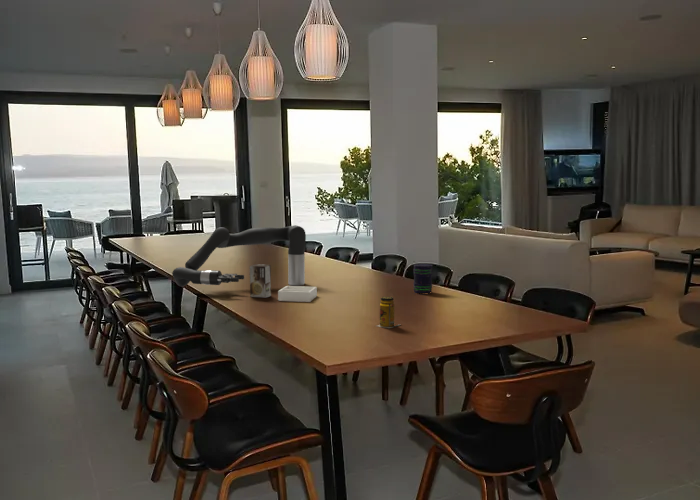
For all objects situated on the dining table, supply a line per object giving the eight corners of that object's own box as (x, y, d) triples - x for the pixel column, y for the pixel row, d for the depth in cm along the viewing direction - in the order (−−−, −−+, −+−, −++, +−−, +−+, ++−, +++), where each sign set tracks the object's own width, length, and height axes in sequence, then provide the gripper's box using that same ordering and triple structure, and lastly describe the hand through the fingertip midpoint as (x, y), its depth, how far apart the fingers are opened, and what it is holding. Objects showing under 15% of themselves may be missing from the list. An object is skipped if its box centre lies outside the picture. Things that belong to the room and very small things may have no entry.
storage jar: (434, 292, 351) (434, 264, 349) (428, 295, 342) (429, 266, 340) (416, 290, 355) (417, 263, 353) (410, 293, 346) (410, 265, 344)
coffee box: (271, 295, 337) (271, 264, 335) (265, 298, 331) (265, 266, 329) (255, 294, 340) (255, 263, 338) (249, 296, 334) (249, 265, 332)
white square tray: (286, 295, 339) (286, 285, 339) (316, 296, 337) (316, 286, 336) (278, 300, 324) (278, 291, 323) (309, 301, 321) (309, 292, 321)
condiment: (375, 326, 270) (375, 297, 269) (387, 322, 277) (387, 294, 275) (389, 329, 266) (389, 299, 264) (401, 325, 272) (402, 296, 271)
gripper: (205, 272, 331) (236, 273, 329) (215, 268, 345) (245, 269, 343) (206, 287, 332) (236, 288, 329) (216, 282, 346) (245, 283, 343)
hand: (241, 278), depth 336 cm, fingers open, 8 cm apart
